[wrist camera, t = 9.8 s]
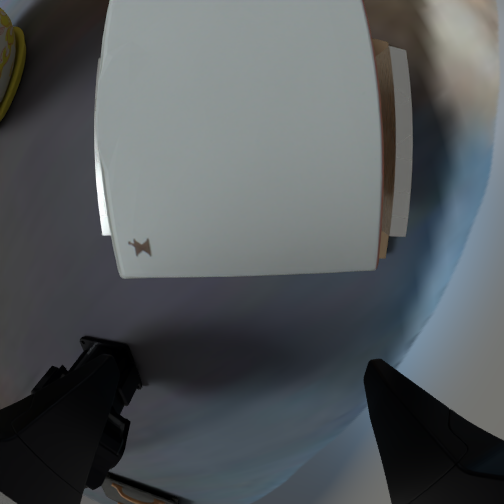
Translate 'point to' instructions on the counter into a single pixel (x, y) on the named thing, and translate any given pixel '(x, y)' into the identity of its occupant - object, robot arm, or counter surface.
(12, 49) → the flowerpot
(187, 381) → the counter surface
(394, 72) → the bookends
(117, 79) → the small box
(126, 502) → the serving board
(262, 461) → the counter surface
